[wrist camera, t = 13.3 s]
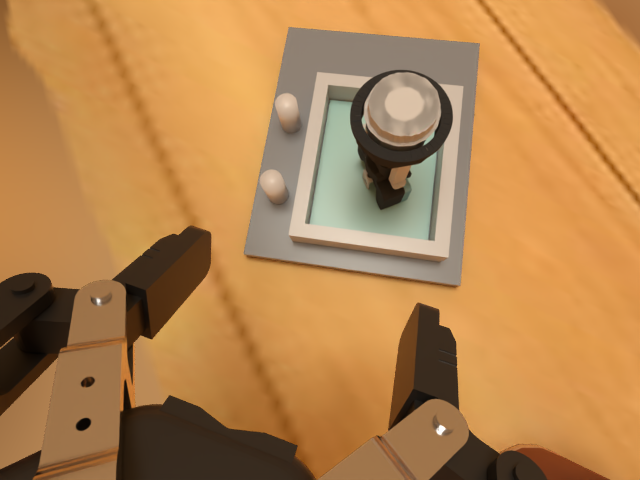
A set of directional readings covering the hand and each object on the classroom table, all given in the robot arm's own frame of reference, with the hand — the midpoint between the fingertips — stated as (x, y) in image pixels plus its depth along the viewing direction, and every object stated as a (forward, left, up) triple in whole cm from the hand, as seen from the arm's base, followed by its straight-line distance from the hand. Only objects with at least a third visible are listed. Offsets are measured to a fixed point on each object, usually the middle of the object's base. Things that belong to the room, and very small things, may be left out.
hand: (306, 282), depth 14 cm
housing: (+1, +12, -14) cm, 19 cm away
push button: (+3, +10, -13) cm, 17 cm away
